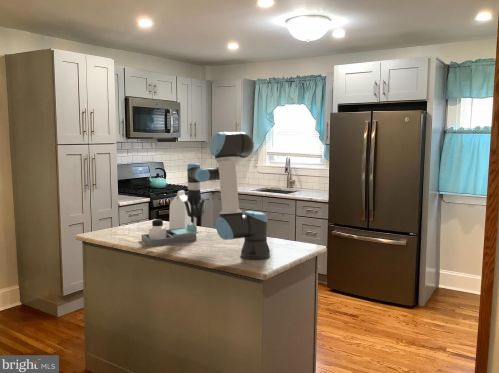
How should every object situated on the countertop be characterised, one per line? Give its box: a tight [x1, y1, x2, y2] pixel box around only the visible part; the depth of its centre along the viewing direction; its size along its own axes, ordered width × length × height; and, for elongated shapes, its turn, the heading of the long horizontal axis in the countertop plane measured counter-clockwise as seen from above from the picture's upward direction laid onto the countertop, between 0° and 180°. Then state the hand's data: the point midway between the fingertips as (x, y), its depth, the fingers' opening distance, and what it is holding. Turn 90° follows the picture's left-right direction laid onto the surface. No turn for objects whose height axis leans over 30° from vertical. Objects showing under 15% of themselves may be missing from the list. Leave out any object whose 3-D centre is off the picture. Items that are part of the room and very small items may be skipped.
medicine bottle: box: [148, 218, 167, 240], centre depth 263 cm, size 7×7×12 cm
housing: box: [140, 228, 197, 248], centre depth 267 cm, size 16×28×5 cm, turn 121°
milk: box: [168, 190, 192, 230], centre depth 291 cm, size 12×12×26 cm
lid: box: [170, 224, 199, 235], centre depth 271 cm, size 12×13×4 cm
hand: (194, 227), depth 275 cm, fingers closed
